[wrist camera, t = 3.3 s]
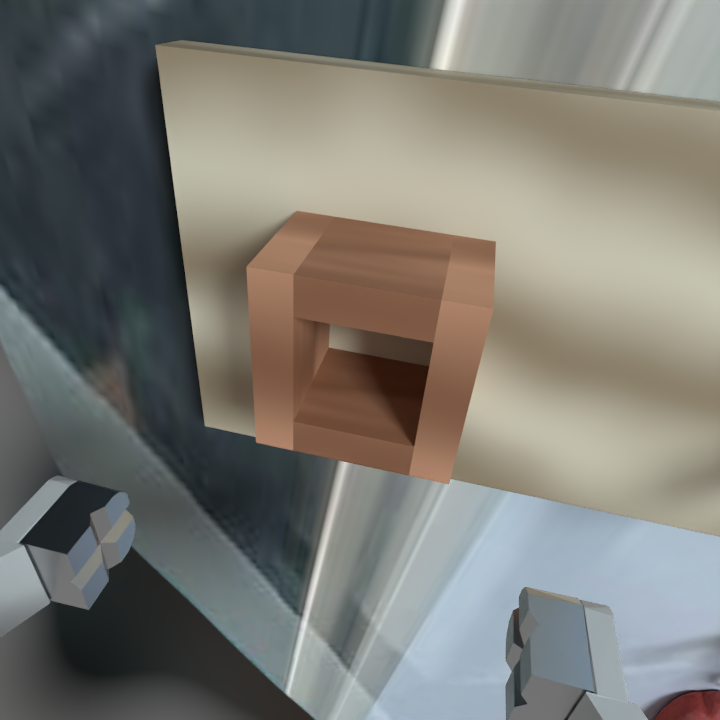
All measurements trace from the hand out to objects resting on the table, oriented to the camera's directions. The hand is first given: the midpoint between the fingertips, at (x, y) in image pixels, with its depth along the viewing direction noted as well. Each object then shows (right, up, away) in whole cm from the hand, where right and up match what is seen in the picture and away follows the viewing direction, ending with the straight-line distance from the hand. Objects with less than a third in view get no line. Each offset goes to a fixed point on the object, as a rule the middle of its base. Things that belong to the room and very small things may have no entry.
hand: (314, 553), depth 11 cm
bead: (+2, +5, +7) cm, 9 cm away
